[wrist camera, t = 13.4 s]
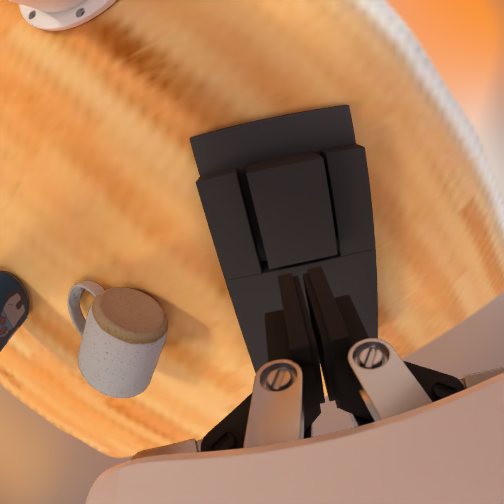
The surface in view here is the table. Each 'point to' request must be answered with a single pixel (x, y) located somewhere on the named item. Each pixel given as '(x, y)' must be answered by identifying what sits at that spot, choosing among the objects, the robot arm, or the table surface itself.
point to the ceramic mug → (118, 338)
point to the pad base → (246, 224)
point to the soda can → (11, 306)
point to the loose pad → (293, 208)
